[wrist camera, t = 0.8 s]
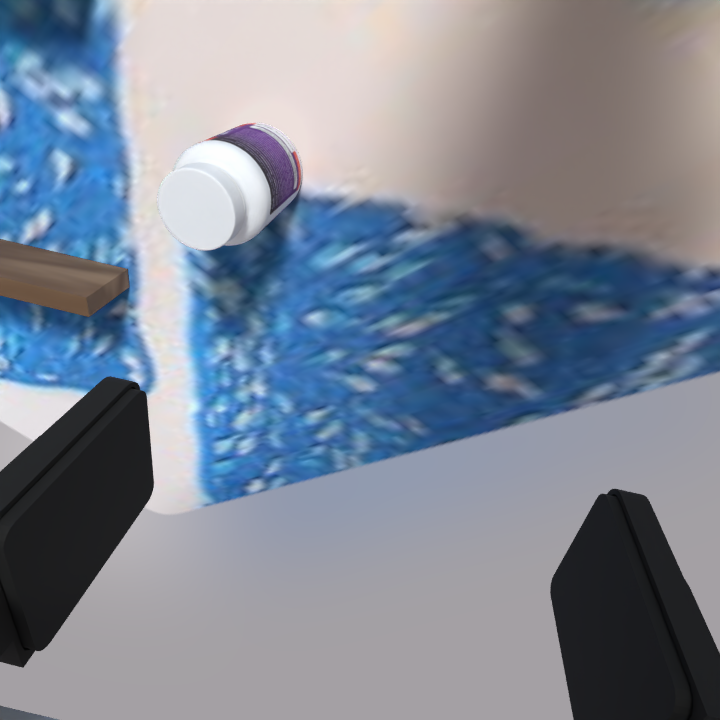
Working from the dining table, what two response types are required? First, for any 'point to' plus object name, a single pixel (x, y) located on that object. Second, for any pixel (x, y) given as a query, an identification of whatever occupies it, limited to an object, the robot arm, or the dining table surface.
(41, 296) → the box
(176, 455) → the dining table surface
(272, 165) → the pill bottle
